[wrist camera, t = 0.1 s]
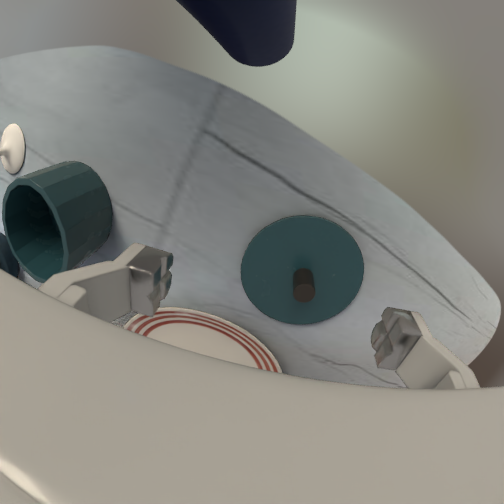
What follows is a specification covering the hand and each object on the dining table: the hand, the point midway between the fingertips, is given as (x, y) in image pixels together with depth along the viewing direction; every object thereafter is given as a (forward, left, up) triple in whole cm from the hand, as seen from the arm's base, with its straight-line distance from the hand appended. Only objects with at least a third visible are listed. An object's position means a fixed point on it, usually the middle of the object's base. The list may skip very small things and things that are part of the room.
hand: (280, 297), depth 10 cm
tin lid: (+5, +10, -20) cm, 23 cm away
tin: (+25, -15, -21) cm, 36 cm away
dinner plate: (+28, +16, -21) cm, 38 cm away
